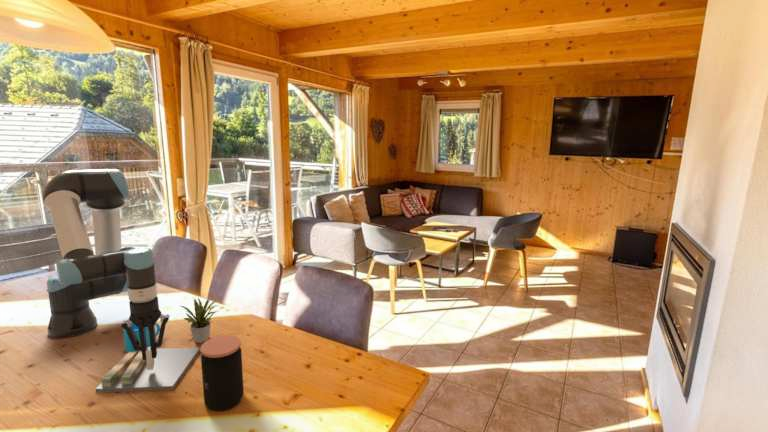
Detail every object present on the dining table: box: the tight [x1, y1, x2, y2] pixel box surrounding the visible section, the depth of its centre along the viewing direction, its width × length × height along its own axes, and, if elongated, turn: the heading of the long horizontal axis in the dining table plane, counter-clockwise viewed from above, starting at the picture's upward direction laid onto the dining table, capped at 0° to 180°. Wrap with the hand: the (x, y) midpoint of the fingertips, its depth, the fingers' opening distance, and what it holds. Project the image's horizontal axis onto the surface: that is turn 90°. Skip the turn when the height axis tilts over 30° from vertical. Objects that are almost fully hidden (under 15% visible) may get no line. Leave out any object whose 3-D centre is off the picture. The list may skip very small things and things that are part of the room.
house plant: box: [180, 296, 220, 344], centre depth 144 cm, size 14×14×16 cm
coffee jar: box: [199, 334, 244, 412], centre depth 111 cm, size 11×11×18 cm
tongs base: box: [100, 341, 141, 387], centre depth 125 cm, size 20×5×4 cm, turn 5°
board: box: [95, 347, 201, 393], centre depth 126 cm, size 22×22×1 cm
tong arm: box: [121, 351, 146, 385], centre depth 123 cm, size 15×2×2 cm, turn 13°
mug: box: [122, 322, 161, 352], centre depth 141 cm, size 12×8×8 cm
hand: (151, 367), depth 123 cm, fingers closed
